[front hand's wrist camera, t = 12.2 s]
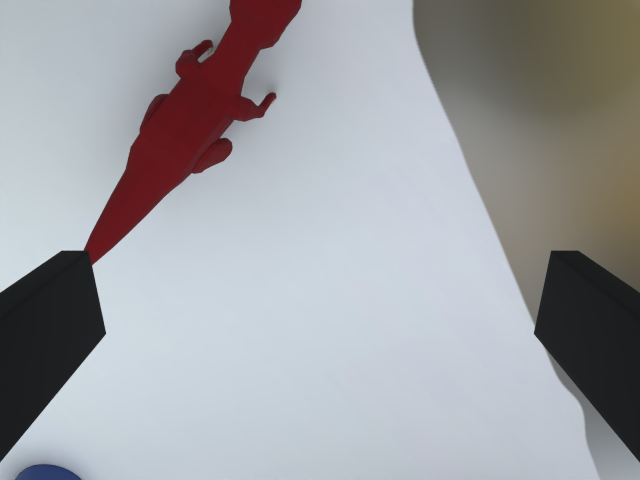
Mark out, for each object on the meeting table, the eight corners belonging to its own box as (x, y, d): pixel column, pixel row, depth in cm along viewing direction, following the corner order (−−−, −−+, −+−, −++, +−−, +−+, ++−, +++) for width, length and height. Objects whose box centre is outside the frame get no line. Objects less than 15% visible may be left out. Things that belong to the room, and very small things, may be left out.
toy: (289, 88, 42) (362, -23, 28) (120, 307, 33) (107, 300, 19) (227, 36, 40) (272, -108, 27) (32, 252, 31) (-50, 203, 18)
